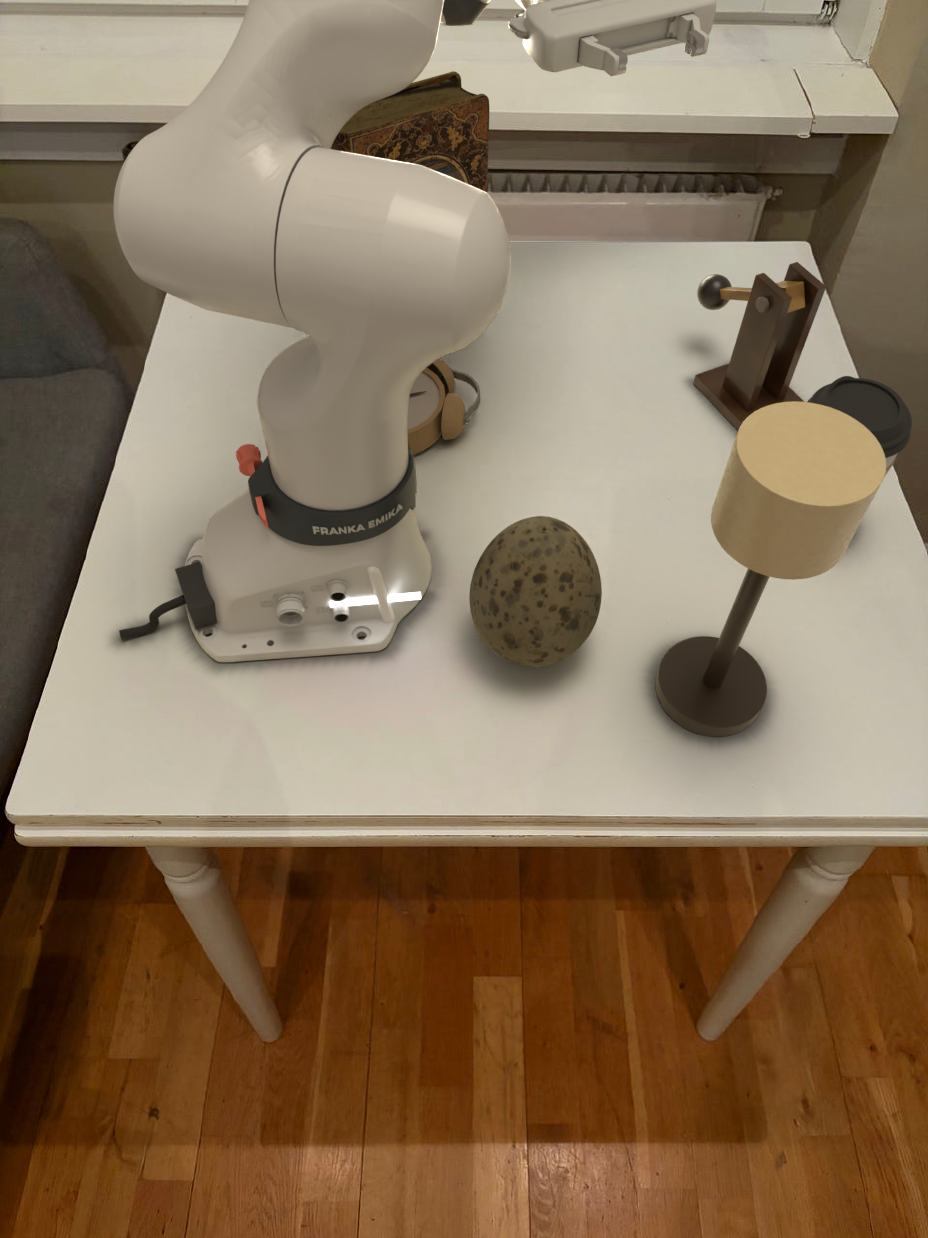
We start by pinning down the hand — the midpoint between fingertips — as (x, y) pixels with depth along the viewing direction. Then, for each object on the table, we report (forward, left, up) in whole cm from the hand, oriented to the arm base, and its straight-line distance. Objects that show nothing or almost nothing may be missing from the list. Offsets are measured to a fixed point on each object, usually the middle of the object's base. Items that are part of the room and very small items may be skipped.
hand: (661, 56), depth 92 cm
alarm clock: (-30, -15, -26) cm, 43 cm away
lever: (+5, -18, -17) cm, 26 cm away
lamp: (-14, -54, -26) cm, 62 cm away
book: (-26, 0, -26) cm, 37 cm away
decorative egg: (-27, -45, -26) cm, 59 cm away
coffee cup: (+4, -39, -26) cm, 47 cm away
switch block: (+6, -22, -26) cm, 35 cm away
